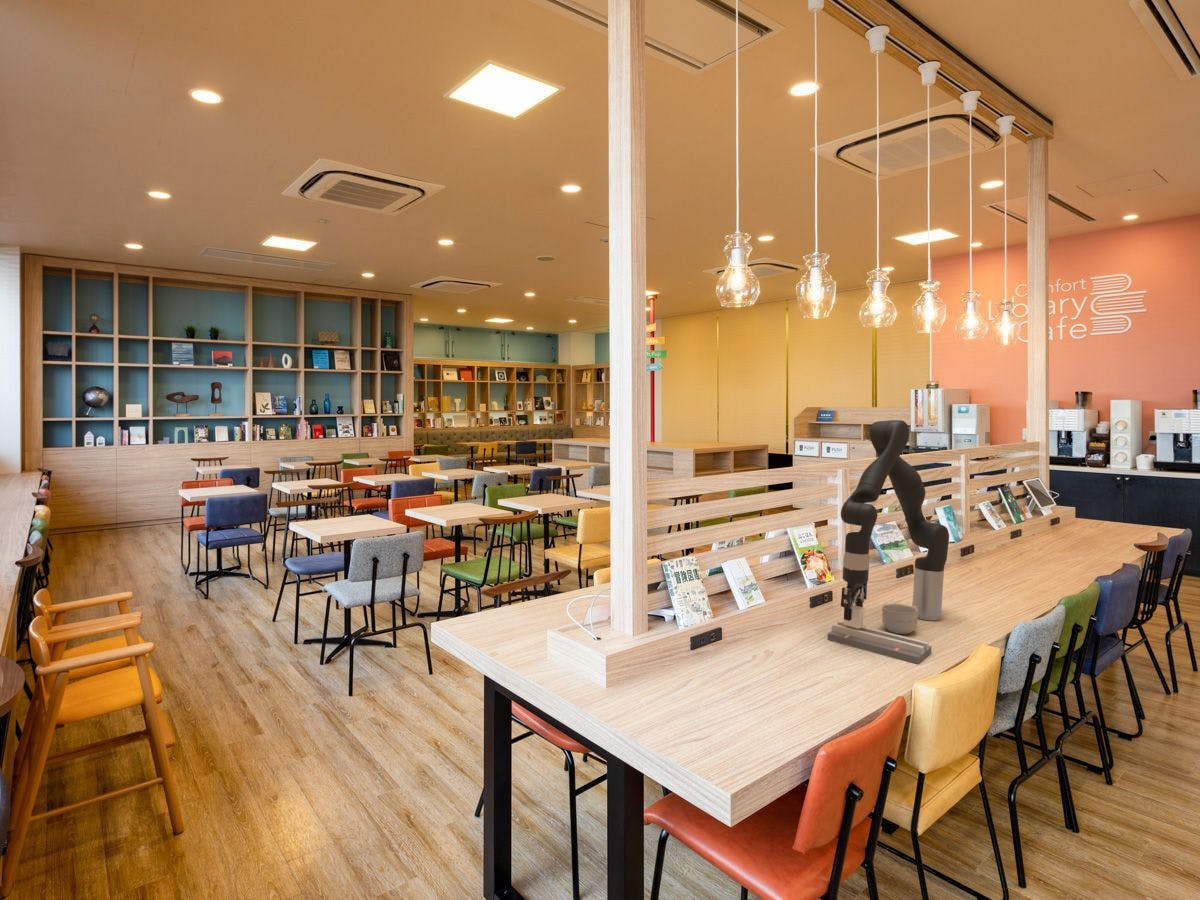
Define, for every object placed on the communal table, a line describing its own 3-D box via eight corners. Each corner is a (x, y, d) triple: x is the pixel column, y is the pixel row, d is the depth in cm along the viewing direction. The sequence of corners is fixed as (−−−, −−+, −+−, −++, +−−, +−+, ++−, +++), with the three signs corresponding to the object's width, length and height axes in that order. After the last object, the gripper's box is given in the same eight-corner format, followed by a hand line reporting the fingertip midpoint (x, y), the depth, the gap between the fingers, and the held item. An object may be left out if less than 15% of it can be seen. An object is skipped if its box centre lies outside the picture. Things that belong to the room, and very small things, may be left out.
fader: (846, 629, 215) (848, 604, 214) (862, 633, 211) (863, 607, 211) (843, 631, 213) (844, 606, 212) (858, 635, 209) (860, 609, 208)
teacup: (895, 638, 214) (897, 613, 213) (873, 626, 224) (874, 603, 224) (932, 634, 218) (933, 610, 217) (908, 623, 228) (909, 600, 228)
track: (843, 630, 220) (843, 618, 220) (931, 652, 202) (932, 640, 202) (827, 639, 211) (828, 627, 211) (918, 664, 193) (918, 650, 193)
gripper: (853, 560, 218) (850, 609, 219) (834, 567, 208) (831, 619, 209) (876, 564, 213) (873, 614, 214) (858, 572, 203) (855, 625, 204)
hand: (853, 616), depth 212 cm, fingers open, 8 cm apart
